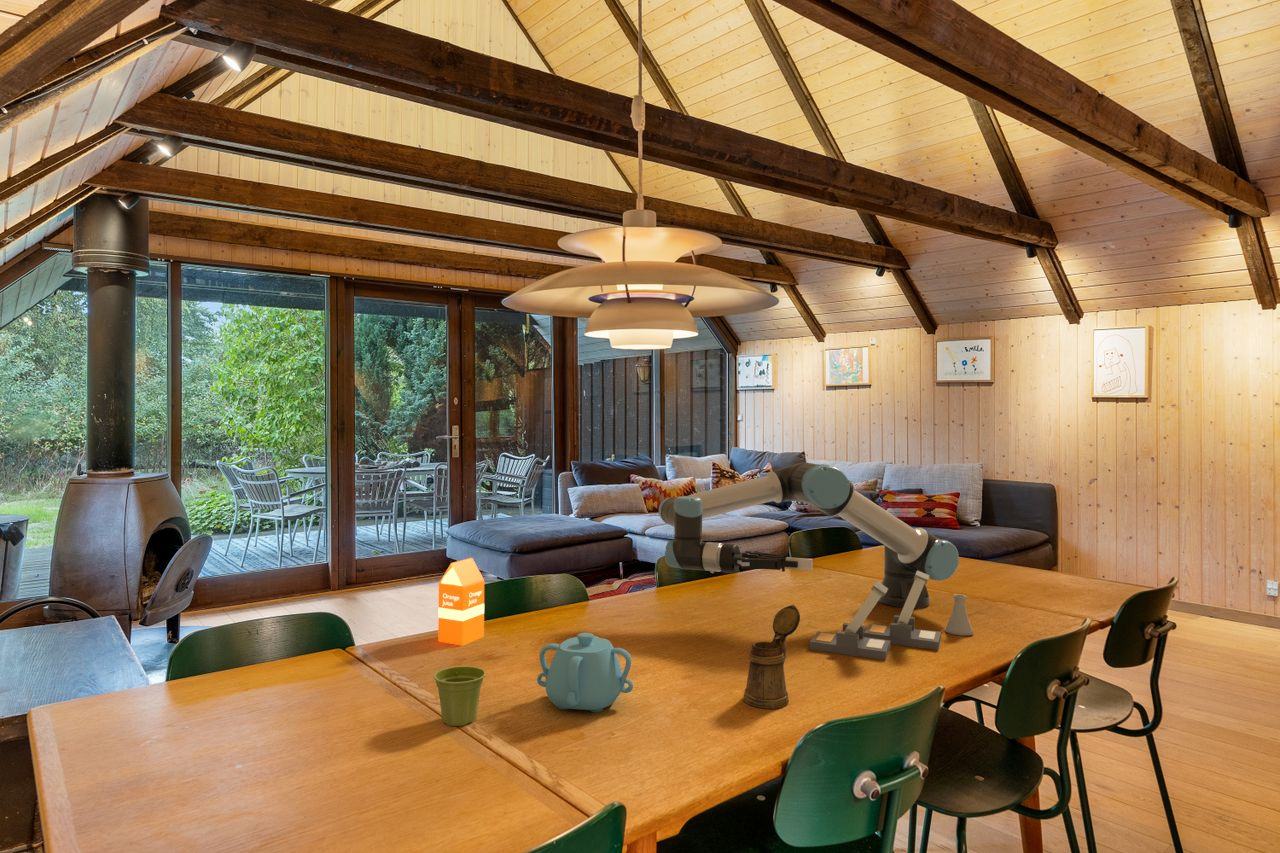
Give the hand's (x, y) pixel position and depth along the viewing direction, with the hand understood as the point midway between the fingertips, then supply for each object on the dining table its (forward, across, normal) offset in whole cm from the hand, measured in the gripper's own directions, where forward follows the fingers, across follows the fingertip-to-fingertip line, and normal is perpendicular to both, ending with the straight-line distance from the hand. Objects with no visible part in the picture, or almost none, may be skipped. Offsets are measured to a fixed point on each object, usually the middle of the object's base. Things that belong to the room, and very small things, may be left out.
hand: (811, 564), depth 192 cm
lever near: (+9, 0, -17) cm, 19 cm away
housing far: (+20, -14, -20) cm, 32 cm away
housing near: (+9, 0, -20) cm, 22 cm away
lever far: (+20, -14, -17) cm, 30 cm away
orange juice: (-81, +36, -19) cm, 91 cm away
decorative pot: (-32, +60, -19) cm, 71 cm away
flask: (+33, -28, -21) cm, 49 cm away
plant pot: (-49, +78, -19) cm, 94 cm away
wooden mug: (+1, +41, -20) cm, 45 cm away
